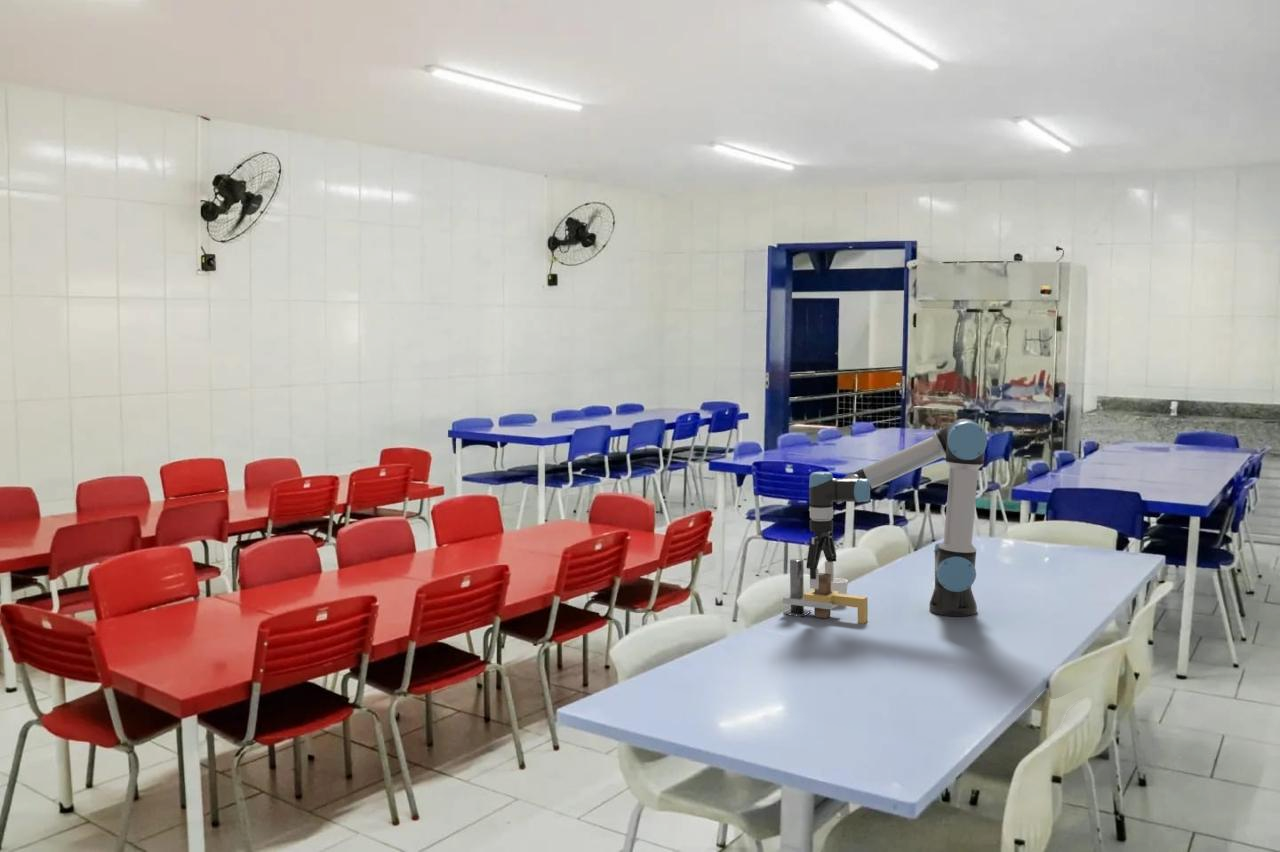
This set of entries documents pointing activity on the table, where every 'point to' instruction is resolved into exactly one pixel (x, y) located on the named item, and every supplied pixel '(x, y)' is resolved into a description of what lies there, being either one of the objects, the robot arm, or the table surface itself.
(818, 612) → the pin
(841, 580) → the cup
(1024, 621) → the table surface
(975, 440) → the robot arm
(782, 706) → the table surface
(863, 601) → the bracket
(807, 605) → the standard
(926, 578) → the table surface
